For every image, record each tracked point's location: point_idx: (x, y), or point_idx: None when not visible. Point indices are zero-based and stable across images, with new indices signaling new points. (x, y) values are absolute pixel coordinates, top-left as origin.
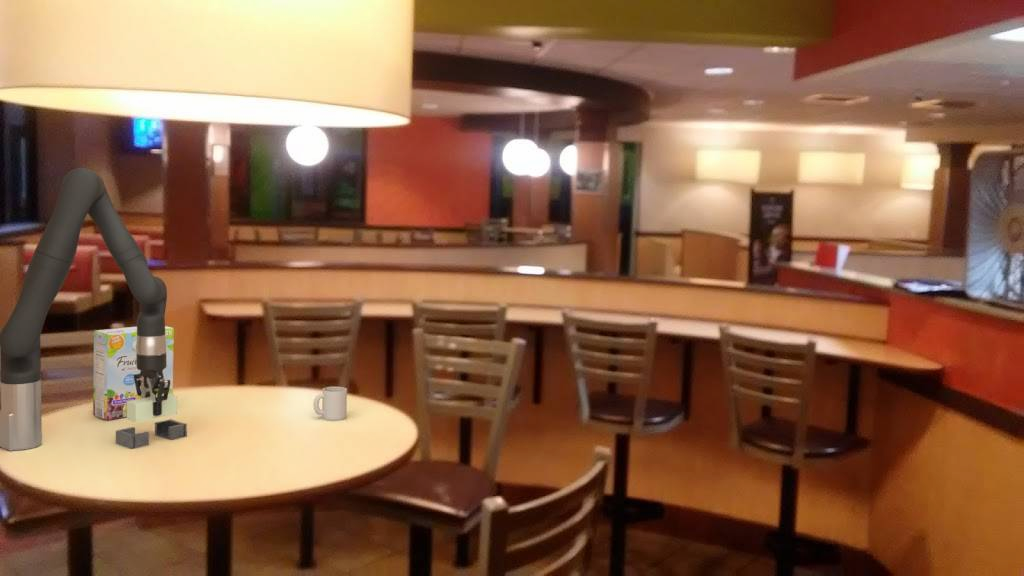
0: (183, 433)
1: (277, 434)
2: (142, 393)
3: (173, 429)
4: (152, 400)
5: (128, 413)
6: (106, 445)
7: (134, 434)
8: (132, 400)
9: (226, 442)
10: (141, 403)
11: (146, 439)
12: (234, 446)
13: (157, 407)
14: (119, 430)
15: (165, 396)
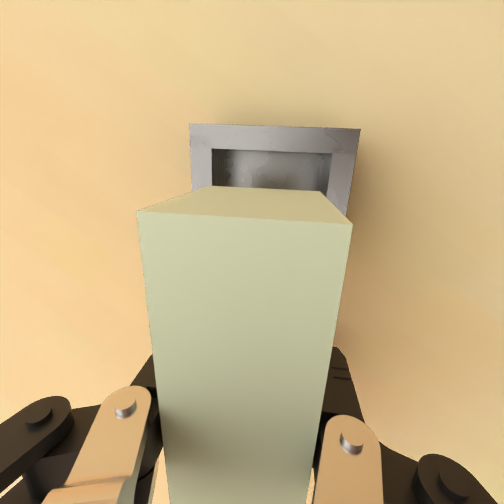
0: None
1: None
2: (355, 490)
3: None
4: (161, 406)
5: (304, 197)
6: (356, 82)
7: (207, 156)
8: (329, 299)
9: (80, 376)
10: (149, 286)
11: None
12: (31, 361)
13: (148, 365)
14: (345, 149)
15: (24, 490)
